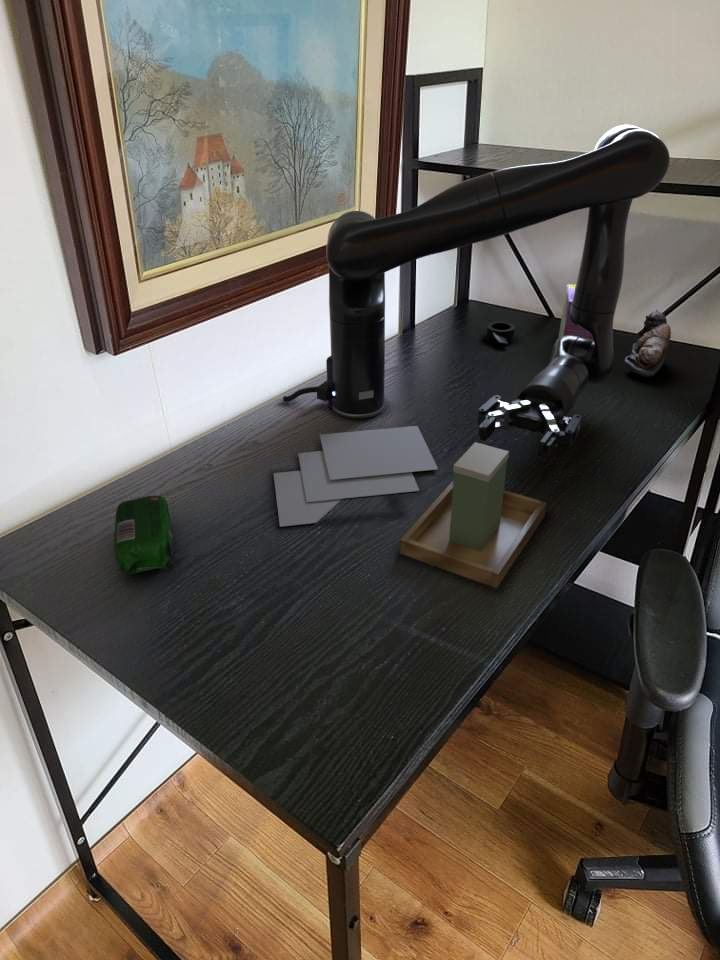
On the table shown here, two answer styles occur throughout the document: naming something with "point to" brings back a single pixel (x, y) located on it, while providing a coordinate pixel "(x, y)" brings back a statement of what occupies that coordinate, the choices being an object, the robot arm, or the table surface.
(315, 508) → the paper stack
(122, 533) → the snack package
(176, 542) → the table surface
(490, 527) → the green lidded canister
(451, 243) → the robot arm
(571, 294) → the box
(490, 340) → the duct tape
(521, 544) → the desk tray
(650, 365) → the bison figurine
